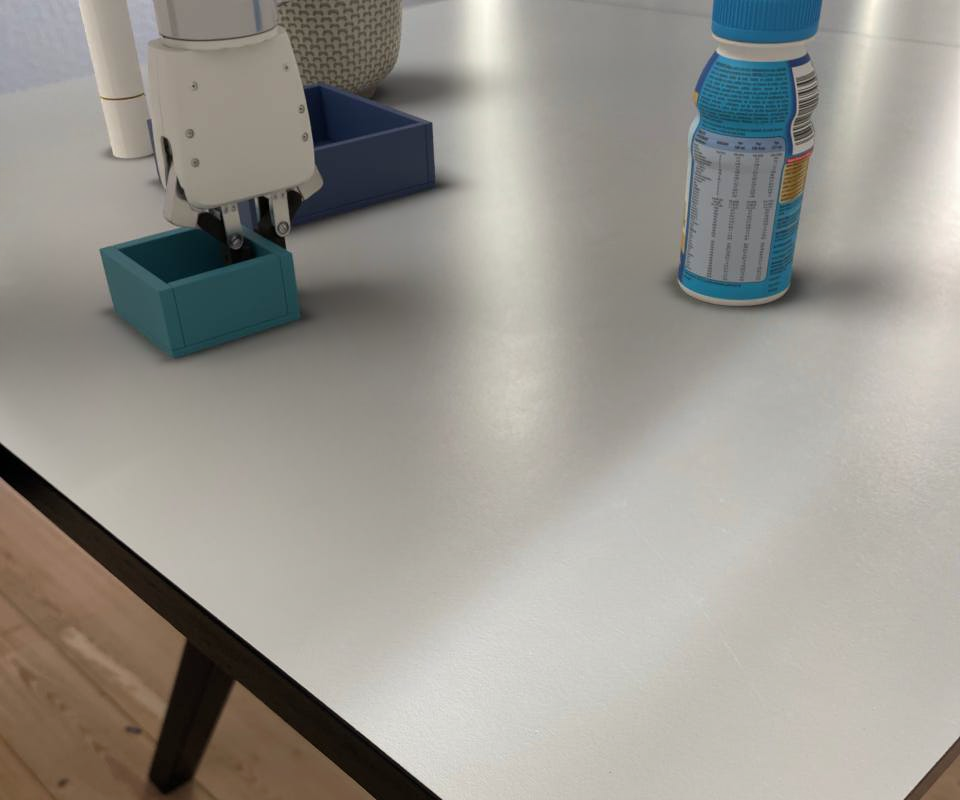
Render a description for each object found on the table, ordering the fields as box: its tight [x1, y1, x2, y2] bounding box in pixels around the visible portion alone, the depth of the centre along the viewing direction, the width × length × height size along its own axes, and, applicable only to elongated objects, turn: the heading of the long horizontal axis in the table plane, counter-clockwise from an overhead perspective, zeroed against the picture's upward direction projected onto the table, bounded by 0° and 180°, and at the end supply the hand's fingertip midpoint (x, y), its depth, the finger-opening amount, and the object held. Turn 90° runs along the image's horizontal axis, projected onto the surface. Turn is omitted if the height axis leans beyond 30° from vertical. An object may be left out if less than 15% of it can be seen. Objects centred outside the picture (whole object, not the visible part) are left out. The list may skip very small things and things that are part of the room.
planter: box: [277, 0, 404, 100], centre depth 121 cm, size 17×17×16 cm
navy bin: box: [147, 83, 437, 232], centre depth 101 cm, size 19×19×6 cm
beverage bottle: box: [677, 0, 823, 307], centre depth 76 cm, size 8×8×20 cm
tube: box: [77, 0, 154, 159], centre depth 108 cm, size 4×4×15 cm
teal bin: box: [99, 225, 302, 360], centre depth 80 cm, size 10×10×5 cm
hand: (260, 289), depth 83 cm, fingers closed
